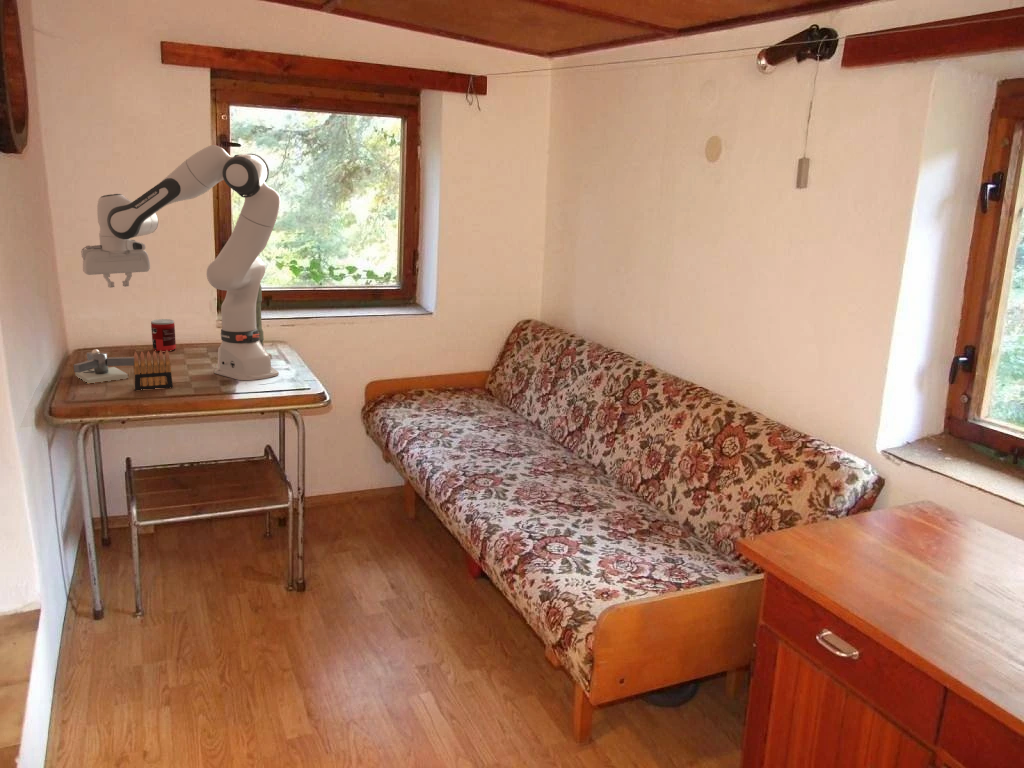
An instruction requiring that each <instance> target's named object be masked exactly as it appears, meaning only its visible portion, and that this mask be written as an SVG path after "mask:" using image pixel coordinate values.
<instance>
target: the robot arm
mask: <svg viewBox="0 0 1024 768" xmlns="http://www.w3.org/2000/svg"><path fill="white" fill-rule="evenodd" d="M269 176H270V167H269V165H268V163H267V161H266V160H265V159H264V158H263V157H262V156H260V155H258V154H256V153H255V154H254V153H243V154H242V153H241V154H235V155H234V156H231V155H230V154H229V153H228V152H227V151H226V150H225V149H224V148H223V147H222V146H219V145H215V144H211V145H208V146H206V147H204V148H202V149H199V150H198V151H197V152H195V153H194V154H192V155H191V156H190V157H188V158H187V159H185V160H184V161H183V162H182V163H181V164H179V165H178V166H177V167H176V168H175V169H174V170H173V171H172V172H170V173H169V174H168V175H167V176H166V177H164V178H163V179H162V180H161V181H160V182H159V183H157V184H156V185H154V187H152V188H150V189H149V190H147V191H146V192H144V193H143V194H142V195H140V196H138V197H137V198H135V200H131V199H129V198H127V197H126V196H125V195H124V194H121V193H114V194H111V193H109V194H105V195H101V196H100V197H99V198H98V200H97V206H96V207H97V210H96V211H97V212H96V213H97V214H96V215H97V223H98V226H99V233H98V237H99V244H98V245H96V244H95V245H85V246H84V247H82V248H81V251H80V252H81V258H82V271H83V273H84V274H85V275H88V276H91V275H92V276H95V275H102V276H103V278H104V279H105V281H106V282H107V287H108V288H115V281H111V279H110V277H111V274H124V275H125V276H126V277H125V279H124V280H122V281H121V283H122V287H123V288H124V287H126V288H127V287H130V280H131V278H132V277H133V274H132V273H148V272H149V271H150V269H151V264H150V258H149V254H148V252H147V251H146V244H145V243H142V242H140V241H136V240H135V239H132V238H137V237H138V238H139V237H142V236H148V235H150V234H152V233H153V234H154V232H156V230H157V228H158V226H159V218H158V215H157V213H158V212H159V211H160V210H162V209H163V208H164V207H166V206H168V205H170V204H173V203H178V202H182V201H187V200H192V199H195V198H198V197H200V196H202V195H204V194H205V193H207V192H209V190H211V189H212V188H214V187H215V186H216V185H217V184H219V183H220V182H222V181H224V183H225V184H226V185H227V186H228V187H229V188H230V190H231V189H232V190H233V191H234V192H236V194H238V195H239V196H240V197H241V198H244V203H243V205H242V208H241V210H240V213H239V215H238V218H237V220H236V223H235V225H234V228H233V231H232V233H231V234H230V236H229V238H228V240H227V241H226V243H225V244H224V246H223V247H222V248H221V250H220V252H219V253H218V255H217V256H216V258H215V259H213V260H212V262H211V263H209V264H208V266H207V268H206V278H207V281H208V283H209V284H210V285H211V286H212V287H213V288H215V289H216V290H218V291H220V290H221V291H226V294H225V297H224V300H223V301H222V303H221V306H220V310H221V312H220V313H221V330H220V340H221V344H220V346H218V348H217V368H215V369H214V370H213V372H214V374H217V375H220V376H224V377H228V378H230V379H231V378H232V379H235V380H237V381H238V380H239V381H253V380H262V379H267V378H268V379H269V378H273V377H275V376H278V375H280V373H279V371H278V370H277V369H276V368H274V367H273V366H272V362H271V361H272V359H273V358H272V353H271V352H269V353H268V352H267V350H266V348H265V346H264V345H263V346H262V344H261V343H260V341H259V340H260V336H259V335H260V334H259V332H258V329H257V328H256V302H257V296H258V291H259V286H260V285H261V281H262V280H263V278H264V276H265V273H266V265H265V263H264V261H263V260H262V258H260V257H259V255H260V254H261V253H262V252H263V251H264V250H265V249H266V247H267V245H268V242H269V240H270V237H271V234H272V233H273V231H274V230H273V229H274V228H275V224H276V223H277V219H278V215H279V212H280V206H281V201H282V200H281V196H280V193H278V191H276V189H274V188H272V187H270V186H269V185H268V184H267V183H266V182H267V180H268V179H269Z"/></svg>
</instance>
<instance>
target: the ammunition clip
mask: <svg viewBox="0 0 1024 768" xmlns="http://www.w3.org/2000/svg"><path fill="white" fill-rule="evenodd" d="M163 353H165V354H163ZM133 355H134V356H133V357H134V366H133V374H134V375H133V376H134V390H140V391H144V390H143V389H153V390H156V389H155V388H165V389H173V388H174V386H173V378H172V376H173V375H172V367H171V366H172V364H171V359H170V352H168V350H166V352H162V351H161V350H160V352H158V354H157V352H156V351H154V350H153V354H152V356H151V353H150V351H149V350H148V351H147V353H146V359H145V354H144V352H143V351H141V352H140V356H138V353H137V351H134V353H133ZM157 355H159V356H157ZM164 356H165V357H164ZM139 357H140V358H139ZM164 358H165V359H164ZM139 360H140V361H139ZM139 363H140V364H139ZM170 387H171V388H170ZM172 387H173V388H172ZM141 389H142V390H141Z"/></svg>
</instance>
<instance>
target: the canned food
mask: <svg viewBox="0 0 1024 768" xmlns="http://www.w3.org/2000/svg"><path fill="white" fill-rule="evenodd" d="M175 326H176V325H175V320H173V319H168V318H165V319H164V318H161V319H153V320H150V327H151V329H150V331H151V341H152V349H154V350H156V351H160V350H161V351H166V350H168V351H170V350H174V349H175V350H176V349H177V341H176V329H175ZM154 350H153V351H154ZM156 351H155V352H156Z"/></svg>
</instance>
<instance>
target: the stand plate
mask: <svg viewBox="0 0 1024 768" xmlns="http://www.w3.org/2000/svg"><path fill="white" fill-rule="evenodd" d="M74 373H75V377H76V376H77V377H78V379H79V378H80V379H79V380H81V379H82V380H83V382H84V381H85V382H87V383H94V384H96V383H95V382H101V383H104V382H103V381H108V382H112V381H111V380H116V381H121V380H120V379H123V380H127V379H126V378H128V379H129V373H126V372H125V371H123V370H121V369H119V368H117V366H109V367H108V373H103V374H97V373H95V372H94V369H90V370H87V371H83V372H80V373H78V372H74ZM77 377H76V378H77ZM82 380H81V381H82ZM85 382H84V383H85ZM87 383H86V384H87Z"/></svg>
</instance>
